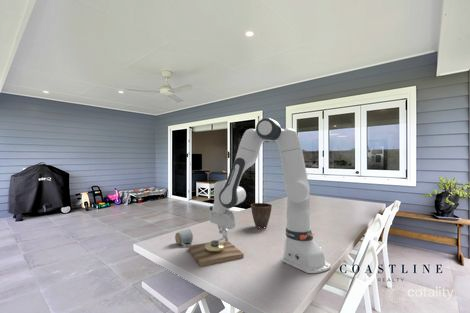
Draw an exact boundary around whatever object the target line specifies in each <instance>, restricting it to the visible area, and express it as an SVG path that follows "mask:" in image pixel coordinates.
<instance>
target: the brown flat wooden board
mask: <svg viewBox="0 0 470 313" xmlns="http://www.w3.org/2000/svg"><path fill="white" fill-rule="evenodd" d="M210 242H211V241H208V242H204V243H197V244H192V245H190V246H189V247H188V251H189V252H190V254H191V255H192V257H193V258H194V260H195V261H196V263H197V264H198V266H199V267H204V266H209V265H214V264H220V263H224V262H229V261H234V260H240V259H244V256H245V254H244V252H242V251H241V250H240V249H238V248H237V247H236V246H235V245H234V244H232V243H231V242H230V241H229V240H228V241H225V242H223V244H224V248H225V249H224V250H223V251H221V252H218V253H210V252H207V251H205V245H206V244H207V243H210ZM239 258H240V259H239Z"/></svg>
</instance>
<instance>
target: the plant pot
mask: <svg viewBox="0 0 470 313" xmlns="http://www.w3.org/2000/svg"><path fill="white" fill-rule="evenodd" d="M272 206H273V205H272V204H270V203H265V202H264V203H263V202H256V203H254V202H253V203H251V204H250V209H251V215H252V219H253V222H254V226H255V227H260V228H264V227H266V228H267V227H268V224H269V222H270V217H271V212H272ZM260 228H259V229H260ZM264 229H265V228H264Z"/></svg>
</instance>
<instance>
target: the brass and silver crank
mask: <svg viewBox="0 0 470 313" xmlns="http://www.w3.org/2000/svg"><path fill="white" fill-rule="evenodd" d="M225 241H229V229H228V228H225V229H223V234H222V238H221V237H220V238H219V239H217V240H216V239H213V240H211V241H209V242H210V243H208V242H206V243H207V244H206V245H205V251H207V252H210V253H218V252H221V251H223V250H224V249H225V248H224V244H223V242H225Z"/></svg>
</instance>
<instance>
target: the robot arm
mask: <svg viewBox="0 0 470 313" xmlns="http://www.w3.org/2000/svg"><path fill="white" fill-rule="evenodd" d="M241 137H242V138H241V140H240V142H239V145H238V149H237V152H236V155H235V157H234V158H235V159H234V162H233V164H231V165H232V166H231V168H230V172H229V173H228V177H227V179H222V180H221V179H220V180H217V181H216V182H215V183H214V186H213V197H214V201H213V205H210V206H209V207H208V210H209V212H208V213H209V214H208V217H209V218H208V220H209V222H210V223H212V224H214V225H216V226H217V228H218V232H219V234H221V235H223V229H228V230H233V229H235V228H236V219H235V214H234V212H233V211H232V210H230V209H232V208H234V207H235V206H237V205H239V204H241V203H243V202H244V201H245V200H246V197H247V192H246V190H245V189H244V187H243V186H240V181H241V180H242V177H243V175H244V173H245V171H247V170H248V169H249V168H250V167H252V166H253V165H255V163H256V161H257V160H258V156H259V154H260V153H259V152H260V149H261V147H262V144H263V143H274V142H276V145H277V146H278V152H279V158H280V163H281V169H282V177H283V185H284V192H285V195H286V197H287V198H286V199H287V201H286V227H285V236H286V239H285V241H284V248H283V257H282V258H281V259H282V260H281V261H282V262H283V263H285V264H287V265H289V266H292V267H294V268H296V269H298V270H300V271H303V272H304V273H306V274H317V273H318V274H319V273H323V272H326V271H328V270H330V269H331V268H332V266H331V264H330V263H329V262H328V261H326V257H325V253H324V251H323V249H322V247H320V246H319V244H318V243H316V241H315V240H314V236H315V233H312V229H311V194H310V192H311V190H310V184H309V179H308V175H307V169H306V168H307V167H306V164H305V163H306V162H305V158H304V152H303V148H302V144H301V143H302V142H301V141H300V140H301V139H300V137H299V135H298V132H297V131H296V130H295V129H293V128H283V127H282V125H281V124H280V123H279V122H278V121H276V120H275V119H273V118H270V117H265V118H261V119H260V120H258V122H257V124H256V126H255V128H249V129H246V130H245V131H244V133H243V135H242V136H241Z"/></svg>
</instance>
